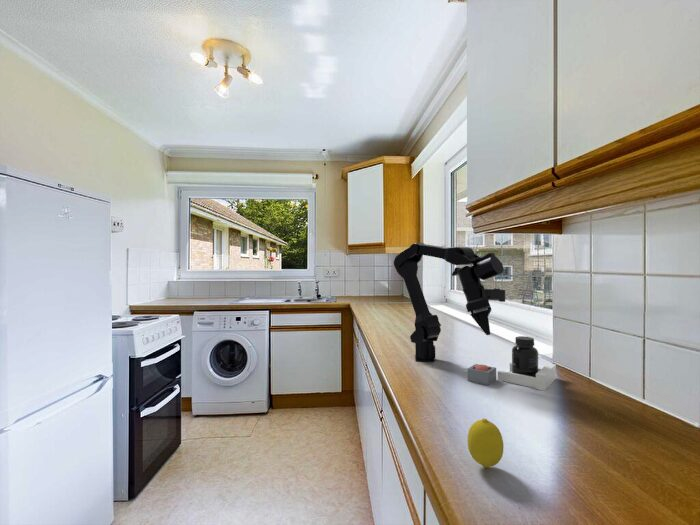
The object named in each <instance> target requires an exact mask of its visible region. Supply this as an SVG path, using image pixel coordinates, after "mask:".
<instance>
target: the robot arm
mask: <svg viewBox="0 0 700 525" xmlns="http://www.w3.org/2000/svg"><path fill="white" fill-rule="evenodd" d="M423 256H427V257H433V258H438V259H442V260H444V261H446V262H447V263H449V264H452V265H453V266H454V265H455V266H463V267H454V270H453V271H452V273H451V276H452V277H456V276H457V277H458V278H459V281H460V283H461V286H462V292H463V294H464V296H465V299H466V304H465V307H466V308H465V309H466V311H467V313H470V316H471V318H472V319H473V320H474V322H476V324H477V325H478V326H479V327H480V329H481V330H482V331H483V333H484V334H485V335H486V336H490V335H491V329H490V328H491V327H490V321H489V320H490V319H489V315H490V314H491V312H492V307H491V304H490V301H494V302H495V301H496V302H502V303H505V302H506V290H505V289H500V288H495V287H494V288H493V289H492V288H485V287H484V285H483V284H482V281H481V280H483V281H486V280H488V279H492V278H494V277H496V276H499V275H501V274H503V273H504V264H503V263H502V262H501V261H500V259H499V258H498V257H497V256H496V255H495V253H494V252H488V253H486V254H484V255H483V256H481V257H480V256H479V255H478V254H476V253H475V252H474V250H473V248H471V247H467V246H466V247H465V246H449V247H446V246H445V247H443V246H439V245H438V246H437V245H433V244H425V243H424V242H423V243H422V242H413V243H412V244H411V245H410V246H409V247H408V248H406V249H404V250H402V251H401V252H400V253H399V254H397V255H396V256H395V258H394V260H393V266H394V269H395V270H396V272H397V274H398V275H399V276H400V277H401V278H402V279H403V280H404V284H405V287H406V289H407V293H408V295H409V299H410V303H411V305H412V308H413V311H414V314H415V320H414V329H415V330H414V331H413V332H412V333H411V335H410V336H409V338H410V342H411V343H413V344H414V347H415V348H414V349H415V350H414V351H415V354H414V360H415V361H416V362H417V361H418V362H435V359H436V345H435V344H434V342H437V341H438V338H439V336H440V335H441V332H442V328H441V326H442V324H441V323H440V321H439V317H438V315H437V314H432V313H431V311H430V310H429V307H428V304H427V301H426V299H425V295H424V292H423V289H422V287H421V284H420V280H419V278H418V276H417V275H418V271H419V270H418V269H419V266H418V263H420V262H421V260H422V258H423ZM469 265H471V266H469Z"/></svg>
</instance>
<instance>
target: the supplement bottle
mask: <svg viewBox="0 0 700 525" xmlns="http://www.w3.org/2000/svg"><path fill="white" fill-rule="evenodd" d="M514 344H515V345H514V346H513V347H512V348H511V363H512V372H511V373H516V374H521V375H526V376H532V377H536V373H537V372H538V367H539V351H538V349H537V348H536V347H534V346H535V338H534V337H530V336H521V335H520V336H516V337H515V343H514Z"/></svg>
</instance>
